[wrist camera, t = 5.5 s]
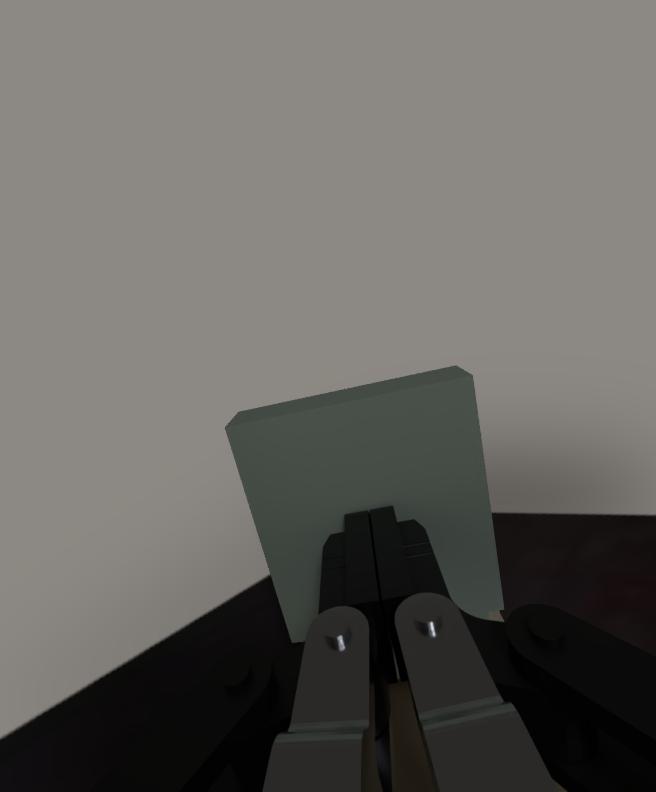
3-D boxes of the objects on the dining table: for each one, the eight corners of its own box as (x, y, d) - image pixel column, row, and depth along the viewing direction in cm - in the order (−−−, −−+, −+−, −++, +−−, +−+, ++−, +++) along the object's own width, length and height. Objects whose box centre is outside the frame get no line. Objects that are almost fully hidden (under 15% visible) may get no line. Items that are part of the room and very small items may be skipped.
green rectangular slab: (307, 692, 13) (224, 427, 11) (312, 631, 16) (245, 403, 13) (511, 662, 13) (472, 375, 10) (483, 603, 15) (447, 360, 13)
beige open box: (312, 1036, 9) (270, 939, 8) (325, 679, 18) (305, 611, 17) (650, 1012, 9) (648, 904, 8) (494, 654, 17) (484, 582, 16)
